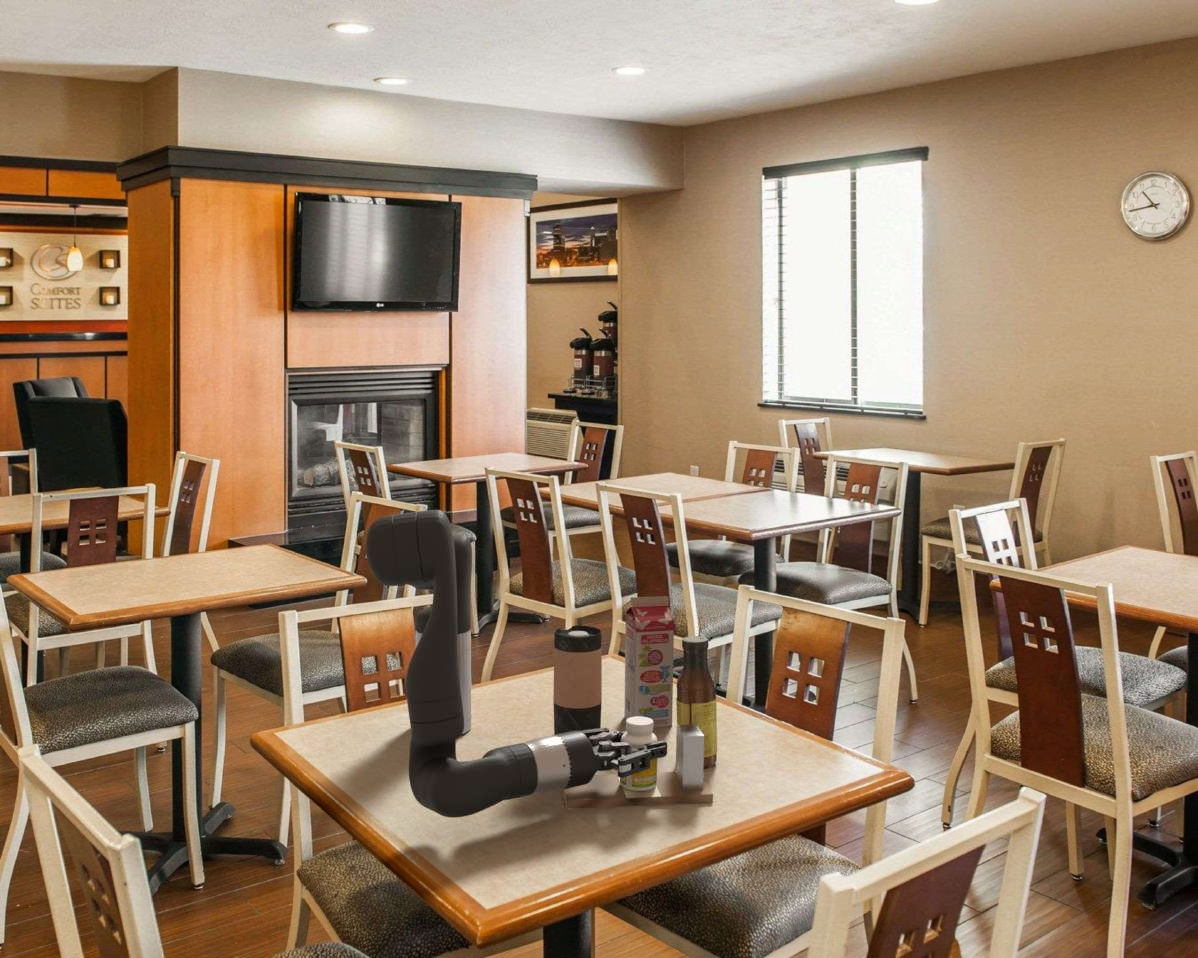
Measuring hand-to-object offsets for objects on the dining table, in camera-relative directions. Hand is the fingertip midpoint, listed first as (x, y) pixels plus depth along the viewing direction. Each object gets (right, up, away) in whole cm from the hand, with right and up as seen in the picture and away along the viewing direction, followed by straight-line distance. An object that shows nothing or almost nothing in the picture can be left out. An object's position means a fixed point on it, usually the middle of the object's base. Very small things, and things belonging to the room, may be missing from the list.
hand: (653, 741), depth 169 cm
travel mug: (-11, -6, +15) cm, 20 cm away
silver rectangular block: (+5, -6, 0) cm, 8 cm away
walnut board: (-3, -7, 0) cm, 8 cm away
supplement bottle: (-2, -6, -1) cm, 7 cm away
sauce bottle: (+7, -6, +12) cm, 15 cm away
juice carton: (+1, -4, +31) cm, 31 cm away
